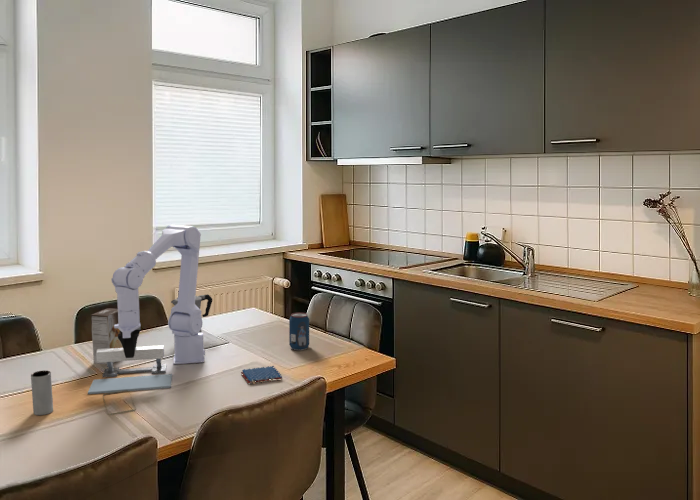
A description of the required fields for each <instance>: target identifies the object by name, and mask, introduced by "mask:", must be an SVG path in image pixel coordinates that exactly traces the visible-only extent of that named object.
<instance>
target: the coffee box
mask: <svg viewBox="0 0 700 500" xmlns="http://www.w3.org/2000/svg"><path fill="white" fill-rule="evenodd" d="M90 321H91V322H90V323H91V340H92V353H93V355H92V356H93V363H94V364H100V365H101V364H103V365H107V362H99V363H97V358H96V352H97V350H98V349H110V348H123V346H122V344H121V342H120V340H119V339H118V334H121V333H120V330H119V329H118V328H114V325H115V324H118V308H109V307H108V308H105V309H102V310H99V311H97V312H95V313H92V314H90ZM115 362H117V361H115ZM115 362H113V364H114V363H115Z"/></svg>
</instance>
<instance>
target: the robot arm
mask: <svg viewBox="0 0 700 500" xmlns="http://www.w3.org/2000/svg"><path fill="white" fill-rule="evenodd" d="M161 231H162V232H161V236H160V237H158V239H157V240H156V241H155V242H154V243H153V244H152V245H151V246H150V247H149V249H147V250H142V251H138V252H137V253H136V256H134V257H133V258H132V259H131V260H130V261H128V262H127V263H126V264H125V266H124V267H123V266H121V267H118V268H117V269H116V270H115V271H114V272H113V275H112V277H111V283H112V285H113V287H114V290H115V292H116V297H117V298H116V300H117V302H116V303H117V309H118V324H115V325H114V328H118V329H119V330H120V333H121V334H118V339H119V340H120V342H121V344H122V346H123V350H124V354H125V357H126V358H133V357H134V353H135V347H137V344H138V338H139V336H140V332H141V331H142V329H141V325H142V324H141V322H140V321H141V319H140V299H139V298H140V296H139V295H140V294H139V287H141V286H142V285H143V281H144V278H145V277H146V275H147V274H148V273H149V272H150V271H151V270H152V269H153V268H155V266H156V263H157V259H158V258H160V256H162V255H163V254H164V253H166V252H167V251H168V250H169V249H171V247H173V249H175V250H177V251H178V252H179V254H180V255H181V259H180V269H179V270H180V271H179V282H178V283H179V284H178V293H177V294H178V295H177V298H178V303H177V304H176V305H175V306H174V305H173V306H172V307H171V309H170V315H169V317H168V320H167V325H168V326H167V327H168V328H169V330H170V331H171V334H172V335H173V341H174V343H173V344H174V356H173V363H172V364H173V365H182V364H196V363H197V364H199V363H204V362H205V356H206V352H205V351H206V349H204V348H205V347H204V332H202V333H199V331H200V330H201V331H202V329H203V328H202V327H203V316H202V310H201V308H200V309H199V308H198V307H197V306H196V305H195V296H197V295H196V293H197V285H198V284H197V280H198V272H199V271H198V270H199V255H200V248H201V235H202V234H201V232H200V231H199V230H198V228H197V227H196V226H194V225H178V224H177V225H175V224H169V225H167V226H165V228H164V229H162V230H161ZM182 312H184V313H182ZM187 313H188V314H187Z"/></svg>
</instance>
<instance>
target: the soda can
mask: <svg viewBox="0 0 700 500" xmlns="http://www.w3.org/2000/svg"><path fill="white" fill-rule="evenodd" d="M288 323H289V324H288V325H289V328H288V332H289V339H288V342H289V347H290V348H291V350H293V349H294V351H305V350H307V349H308V348H309V346H310V318H309V315H308V313H306V312H301V311H300V312H293V313H291V314H290V318H289V321H288ZM304 349H305V350H304Z"/></svg>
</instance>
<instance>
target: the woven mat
mask: <svg viewBox="0 0 700 500" xmlns="http://www.w3.org/2000/svg"><path fill="white" fill-rule="evenodd" d="M240 374H241V376H242V377H243V378H244V379H245V382H246V381H247V382H246V383H247V384H248V383H251V384H252V383H253V384H252V385H255V384H257V383H256V382H258V383H260V382H262V383H263V381H266V382H267V381H269V379H271V380H273V379H281V380H282V379H283V376H282V374H281V373H280V372H279V370H278V369H277V368H276V367H275V366H274V365H269V366H265V367H264V366H262V367H256V368H255V367H254V368H246V369H245V368H244V369H242V371H241V372H240ZM242 374H243V375H242ZM246 379H247V380H246ZM255 381H256V382H255ZM269 382H270V381H269Z"/></svg>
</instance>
